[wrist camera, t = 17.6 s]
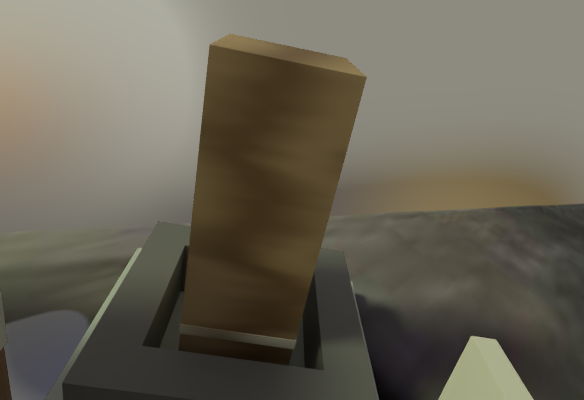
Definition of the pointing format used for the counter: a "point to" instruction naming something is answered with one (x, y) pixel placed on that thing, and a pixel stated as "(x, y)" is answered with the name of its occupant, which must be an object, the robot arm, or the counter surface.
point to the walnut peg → (263, 193)
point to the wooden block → (4, 378)
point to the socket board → (208, 368)
